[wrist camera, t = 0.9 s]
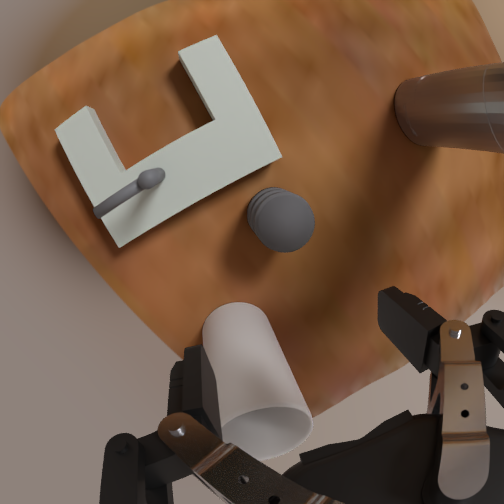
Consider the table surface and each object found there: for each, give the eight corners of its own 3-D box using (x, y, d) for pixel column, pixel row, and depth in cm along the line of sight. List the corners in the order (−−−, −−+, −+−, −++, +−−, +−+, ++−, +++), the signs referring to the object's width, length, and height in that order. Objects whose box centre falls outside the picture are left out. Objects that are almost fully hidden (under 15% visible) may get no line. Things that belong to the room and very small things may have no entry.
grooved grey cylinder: (282, 177, 30) (302, 183, 24) (303, 221, 32) (325, 236, 26) (236, 201, 30) (246, 212, 24) (259, 245, 32) (273, 265, 26)
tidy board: (214, 43, 24) (222, 7, 16) (275, 156, 29) (304, 157, 21) (64, 131, 24) (23, 125, 16) (124, 241, 29) (101, 270, 21)
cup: (190, 317, 33) (193, 426, 18) (256, 291, 33) (301, 389, 18) (218, 365, 36) (235, 469, 21) (277, 343, 36) (321, 440, 21)
